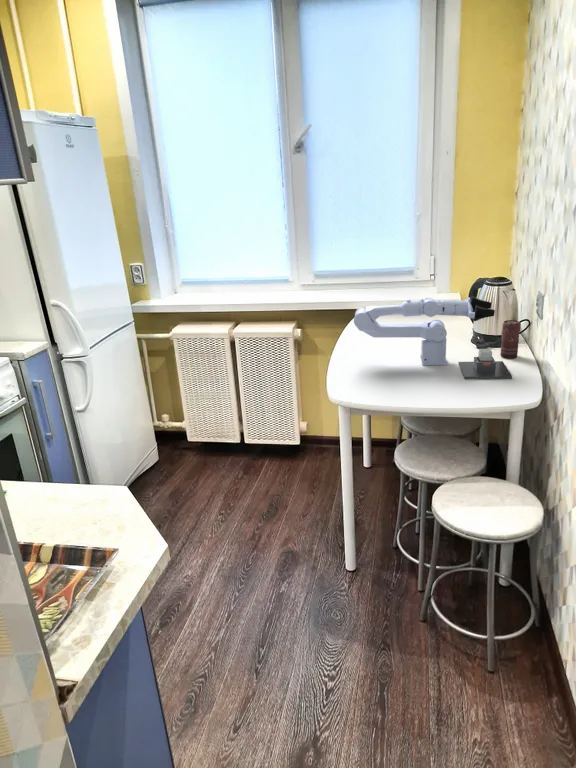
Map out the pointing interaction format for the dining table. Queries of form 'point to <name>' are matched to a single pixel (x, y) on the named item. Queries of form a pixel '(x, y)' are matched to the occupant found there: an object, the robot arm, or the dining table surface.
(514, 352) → the can
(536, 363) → the dining table surface
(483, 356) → the column
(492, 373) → the stand
